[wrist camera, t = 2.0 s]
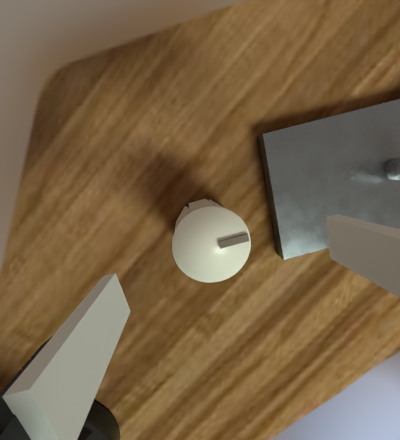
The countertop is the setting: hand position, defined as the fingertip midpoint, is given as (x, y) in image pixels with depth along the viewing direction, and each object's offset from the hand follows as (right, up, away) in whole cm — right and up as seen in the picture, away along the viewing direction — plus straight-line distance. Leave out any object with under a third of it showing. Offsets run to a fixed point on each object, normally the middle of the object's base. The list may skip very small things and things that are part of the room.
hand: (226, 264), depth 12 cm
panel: (+17, +8, +11) cm, 22 cm away
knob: (-1, +2, +11) cm, 11 cm away
